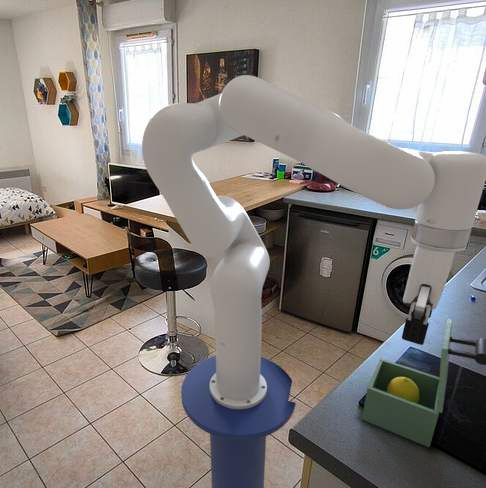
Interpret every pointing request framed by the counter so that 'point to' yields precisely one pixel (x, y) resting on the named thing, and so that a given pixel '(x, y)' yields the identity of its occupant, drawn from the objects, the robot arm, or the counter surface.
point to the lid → (482, 355)
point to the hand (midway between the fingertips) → (416, 327)
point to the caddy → (402, 403)
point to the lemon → (404, 389)
